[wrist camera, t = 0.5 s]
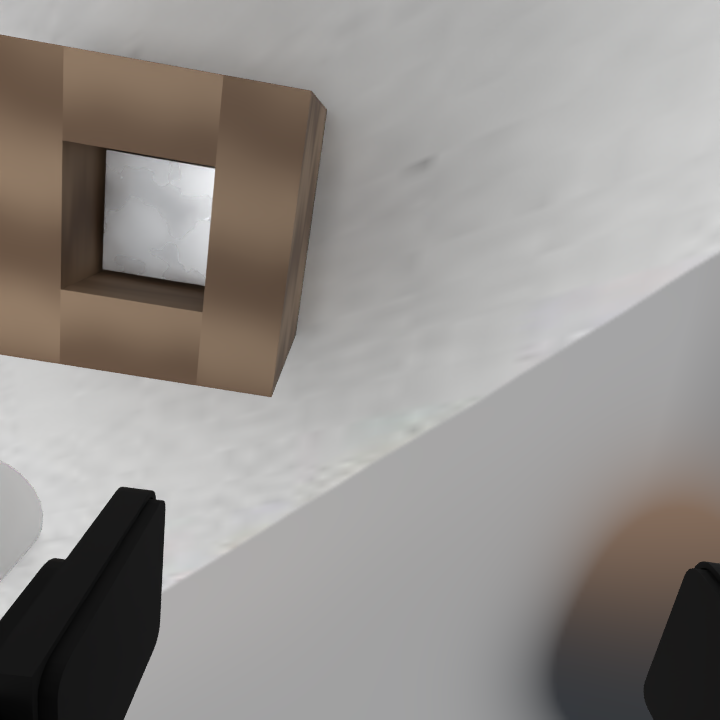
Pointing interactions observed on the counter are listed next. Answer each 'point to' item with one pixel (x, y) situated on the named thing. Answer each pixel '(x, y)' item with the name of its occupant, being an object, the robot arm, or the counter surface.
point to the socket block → (87, 203)
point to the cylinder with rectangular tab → (17, 517)
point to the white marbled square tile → (157, 217)
